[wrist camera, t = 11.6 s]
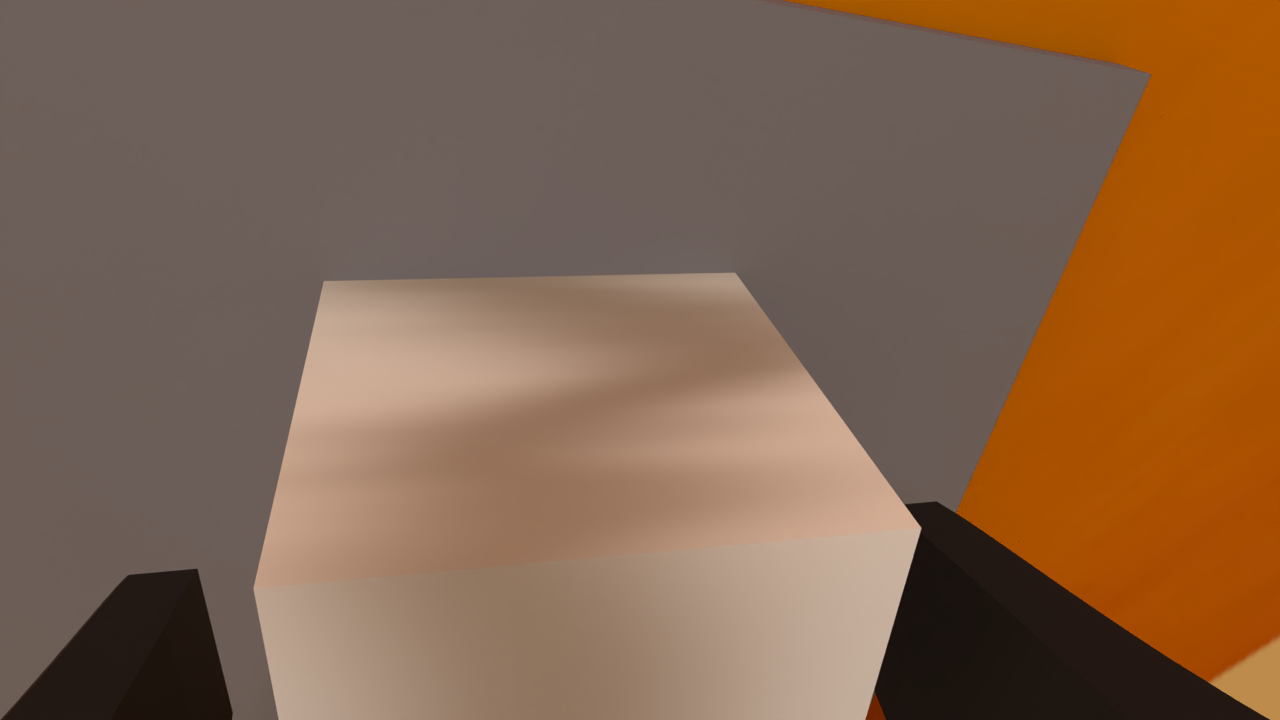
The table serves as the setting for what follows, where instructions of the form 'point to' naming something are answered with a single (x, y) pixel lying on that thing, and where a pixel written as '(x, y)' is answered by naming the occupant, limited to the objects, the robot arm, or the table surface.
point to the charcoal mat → (482, 235)
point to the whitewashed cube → (572, 511)
